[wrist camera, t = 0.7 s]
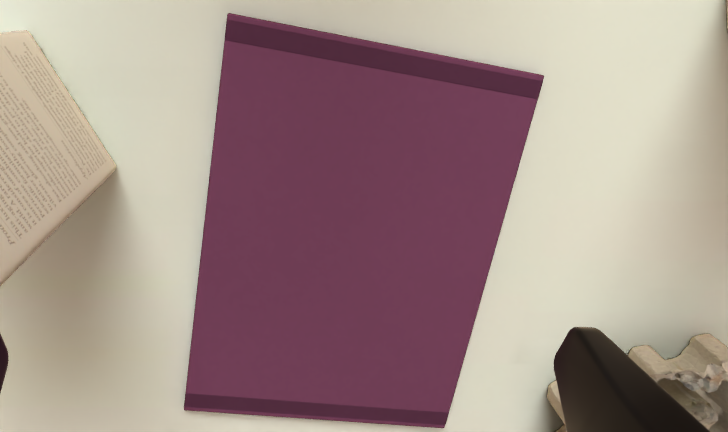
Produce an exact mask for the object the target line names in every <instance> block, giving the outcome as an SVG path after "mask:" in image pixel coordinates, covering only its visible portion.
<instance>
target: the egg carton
mask: <svg viewBox="0 0 728 432" xmlns="http://www.w3.org/2000/svg"><path fill="white" fill-rule="evenodd" d="M628 356H629V357H630V358H631V359H632V360H633V361H634V362H635V363H636V364H637V365H638V366H639V367H641V368H642V369H643V370H644V371H645V372H646V373H647V374H648V375H649V376H650V377H651V378H653V379H654V380H655V381H656V382H657V383H658V384H659V385H660V386H661V387H662V388H663V389H665V390H666V391H667V392H668V393H669V394H670V395H671V396H672V397H673V398H674V399H675V400H677V401H678V402H679V403H680V404H681V405H682V406H683V407H684V408H685V409H686V410H687V411H688V412H690V413H691V414H692V415H693V416H694V417H695V418H696V419H697V420H698V421H699V422H700V423H702V424H703V425H704V426H705V427H706V428H707V429H708V430H709V431H710V432H728V347H726V346H725V345H724V344H723V343H721V342H720V341H719V340H718V339H716V338H715V337H713V336H712V335H710V334H702V335H697V336H694V337H692V338H691V340H690V343H689V345H688V346H687V347H686V348H685V349H684V350H683V351H682V353H681V355H679V356H677V357H676V358H672V359H666V360H664V359H663V358H662V357H661V356H660V355H659V354H658V353H657V352H656V351H655V350H654V349H653V348H652V347H650V346H649V345H641V346H638V347H633V348H632V349H631V350H630V352H629V354H628ZM547 398H548V400H549V402H550V404H551V405H552V407H553V408H554V409H555V411H556V412H557V414H558V415H559V417H560V418H561V420H562V421H563V423H564V425H563V426H562V427H561V428H560V429H559V430H557V431H555V432H567V430H566V425H565V420H564V415H563V411H562V406H561V401H560V396H559V391H558V386H557V381H556V380H555V381H554V382H552V383H551V384H550V385H549V386H548V394H547Z"/></svg>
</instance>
